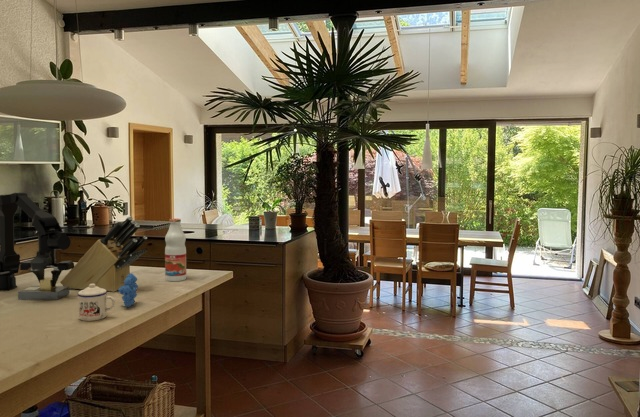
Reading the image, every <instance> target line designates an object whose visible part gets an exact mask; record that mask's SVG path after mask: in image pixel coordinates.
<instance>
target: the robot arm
mask: <svg viewBox="0 0 640 417" xmlns="http://www.w3.org/2000/svg"><path fill="white" fill-rule="evenodd" d="M19 208H20V209H21V210H22V211H23V212H24V213H25V214H26V215H27V216H28V217H29V218H30V219H31V224H32V226H33V227H34V228H35V230H36V231H37V232H36V233H35V234H34V236H35V237H37V242H38V243H37V245H38V251H36V256H35V257H33V259H31V260H26V261H23V262H21V255H20V254H19V253H17V252H16V250H15V230H14V228H15V227H14V226H15V225H14V224H15V223H14V221H15V220H14V218H15V217H14V216H15V215H16V213H17V211H18V209H19ZM71 242H72V241H71V238H70V237H69V236H68V235H67V233H66V231H63V228H62V226H60V223H59V221H58V220H57V217H56V216H54V215H53V214H52V213H50V212H46V211H44V210H42V209H41V208H40V207H39V206H38V205H37V204H36V203H35V202H34V201H33V200H32V199H31V198H30V197H29V196H28V194H27V193H26V192H12V193H10V194H0V291H10V290H13V289H16V288H18V286H17V278H16V277H15V274H18V273H19V270H20V271H28V270H29V272H30V273H32V274H34V276H36V278H37V280H38V283H39V284H40V280H42V279H44V278H45V269H47V268H48V269H53V270H51V271H50V273H51V278H52V287H55V285H56V286H57V281H58V280H59V278H60V275H61V274H62V272H63V271H70V270H71V269H72V268H74V266H75V263H74V261H73V260H62V261H60V262H58V259H56V253H57V251H58V250H60V251H61V250H63V251H65V250H67V249H69V248H70V246H71Z"/></svg>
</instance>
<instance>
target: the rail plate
mask: <svg viewBox="0 0 640 417" xmlns="http://www.w3.org/2000/svg"><path fill="white" fill-rule="evenodd" d="M70 291H71V290H70V289H69V286H63V285H56V289H54V290H52V291H40V285H31V286H28V287H27V288H23V289H22V290H20V291H18V292H17V298H18V300H19V301H20V300H31V301H32V300H33V301H35V300H38V301H39V300H41V301H42V300H43V301H45V300H46V301H49V300H53V301H54V300H55V301H56V300H59V299H62V298H63V297H65V296H68V295H69V294H70Z"/></svg>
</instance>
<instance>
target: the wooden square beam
mask: <svg viewBox="0 0 640 417" xmlns="http://www.w3.org/2000/svg"><path fill="white" fill-rule="evenodd" d="M39 286H40V291H52V290H54V289H56V286H57V284H56V285H55V287H52V277H44V279H42V280H40V283H39Z"/></svg>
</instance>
